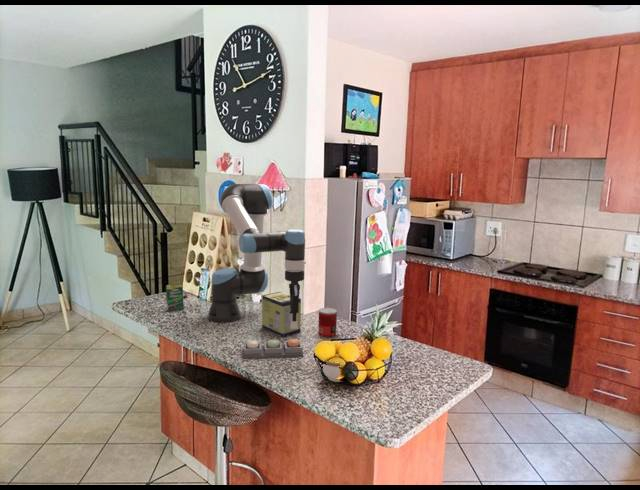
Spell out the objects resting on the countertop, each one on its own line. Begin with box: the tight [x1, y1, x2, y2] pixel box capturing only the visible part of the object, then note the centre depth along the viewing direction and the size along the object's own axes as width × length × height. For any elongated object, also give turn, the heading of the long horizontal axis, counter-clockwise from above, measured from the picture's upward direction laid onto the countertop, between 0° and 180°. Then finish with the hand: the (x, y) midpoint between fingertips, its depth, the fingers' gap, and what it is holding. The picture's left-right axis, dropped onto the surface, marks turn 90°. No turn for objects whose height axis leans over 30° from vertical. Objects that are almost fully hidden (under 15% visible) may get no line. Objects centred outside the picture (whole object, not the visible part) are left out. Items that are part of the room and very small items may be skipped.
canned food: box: [317, 307, 338, 338], centre depth 200 cm, size 8×8×11 cm
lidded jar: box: [322, 361, 342, 383], centre depth 159 cm, size 11×11×9 cm
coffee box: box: [165, 283, 185, 312], centre depth 227 cm, size 8×3×13 cm, turn 118°
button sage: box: [267, 339, 280, 348], centre depth 179 cm, size 4×4×2 cm
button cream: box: [246, 339, 259, 349], centre depth 178 cm, size 4×4×2 cm
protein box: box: [261, 291, 302, 338], centre depth 204 cm, size 10×16×16 cm
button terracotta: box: [287, 338, 299, 347], centre depth 181 cm, size 4×4×2 cm
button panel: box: [243, 340, 304, 360], centre depth 180 cm, size 23×10×3 cm, turn 99°
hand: (293, 328), depth 179 cm, fingers closed
